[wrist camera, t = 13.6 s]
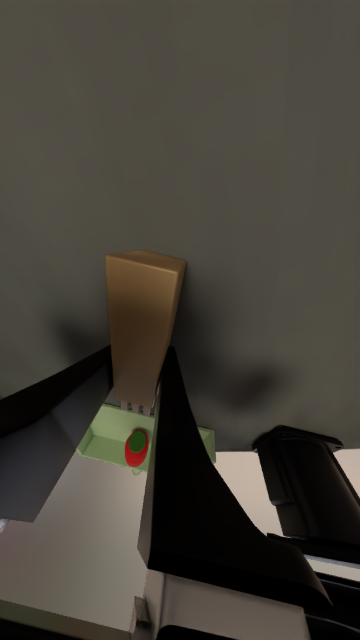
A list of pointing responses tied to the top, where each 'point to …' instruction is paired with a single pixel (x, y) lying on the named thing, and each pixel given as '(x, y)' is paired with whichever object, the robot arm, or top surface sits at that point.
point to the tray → (125, 436)
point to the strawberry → (136, 448)
